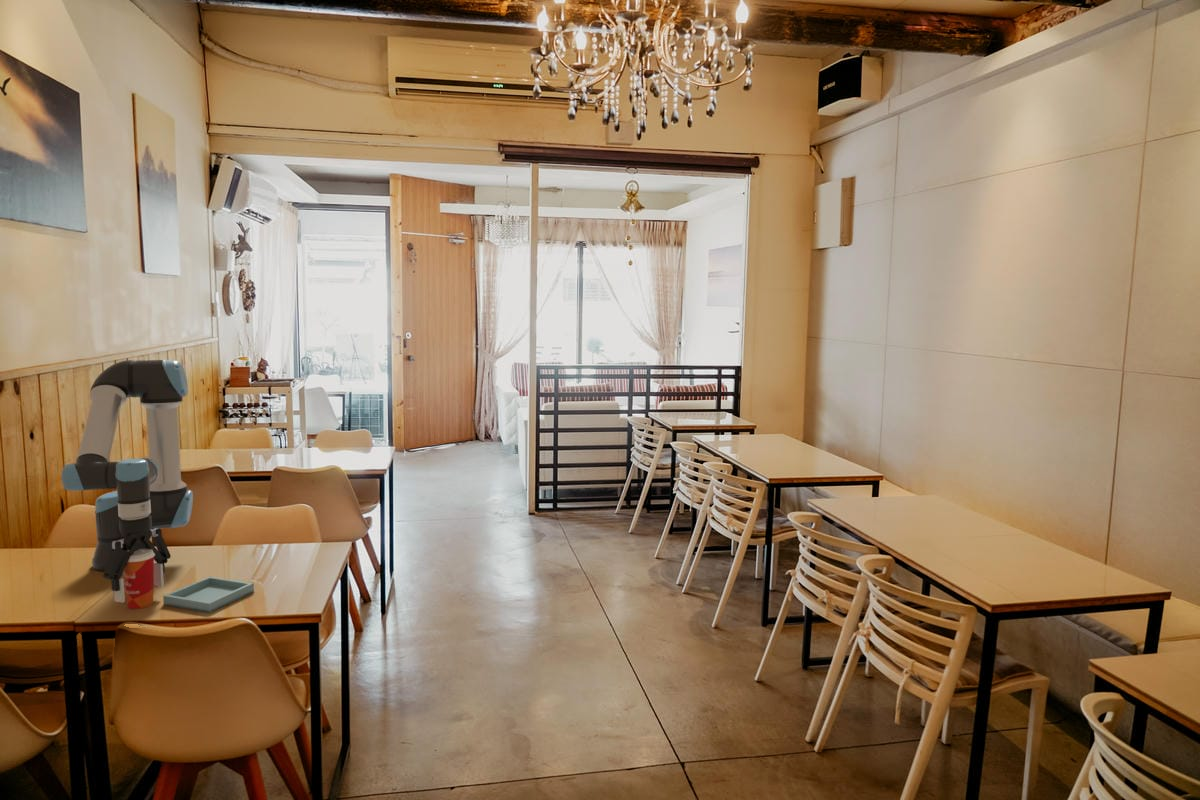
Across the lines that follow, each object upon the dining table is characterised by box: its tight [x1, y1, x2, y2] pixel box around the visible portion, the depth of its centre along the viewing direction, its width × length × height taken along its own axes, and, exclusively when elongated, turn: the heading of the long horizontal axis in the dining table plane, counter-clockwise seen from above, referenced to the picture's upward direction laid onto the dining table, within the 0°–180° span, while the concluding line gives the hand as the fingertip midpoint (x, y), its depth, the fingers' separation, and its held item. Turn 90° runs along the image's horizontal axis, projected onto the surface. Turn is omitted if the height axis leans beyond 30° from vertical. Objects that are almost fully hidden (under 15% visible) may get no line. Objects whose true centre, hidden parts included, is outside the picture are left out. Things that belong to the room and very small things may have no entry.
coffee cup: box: [122, 548, 155, 610], centre depth 205 cm, size 8×8×15 cm
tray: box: [163, 576, 255, 614], centre depth 211 cm, size 16×16×3 cm
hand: (140, 593), depth 205 cm, fingers open, 11 cm apart
